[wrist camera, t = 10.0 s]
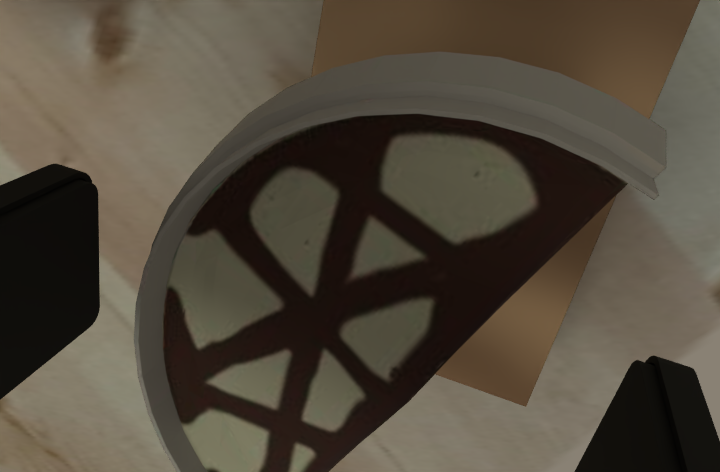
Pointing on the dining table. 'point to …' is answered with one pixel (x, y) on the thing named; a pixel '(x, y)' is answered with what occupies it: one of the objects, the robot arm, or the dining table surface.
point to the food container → (364, 247)
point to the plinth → (540, 49)
